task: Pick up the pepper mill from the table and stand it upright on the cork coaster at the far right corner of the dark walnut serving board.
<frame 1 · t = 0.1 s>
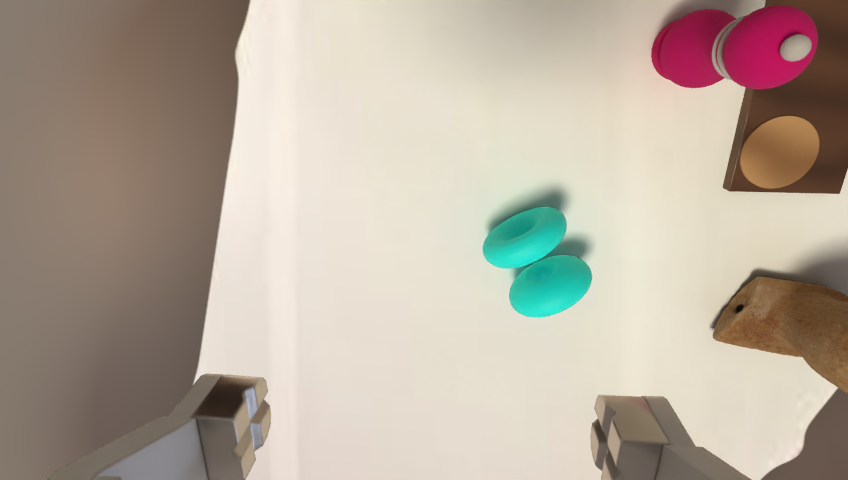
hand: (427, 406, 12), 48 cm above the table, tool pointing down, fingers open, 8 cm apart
pepper mill: (680, 49, 52), on the table
serving board: (803, 90, 53), on the table
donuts: (530, 245, 61), on the table
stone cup: (780, 304, 62), on the table
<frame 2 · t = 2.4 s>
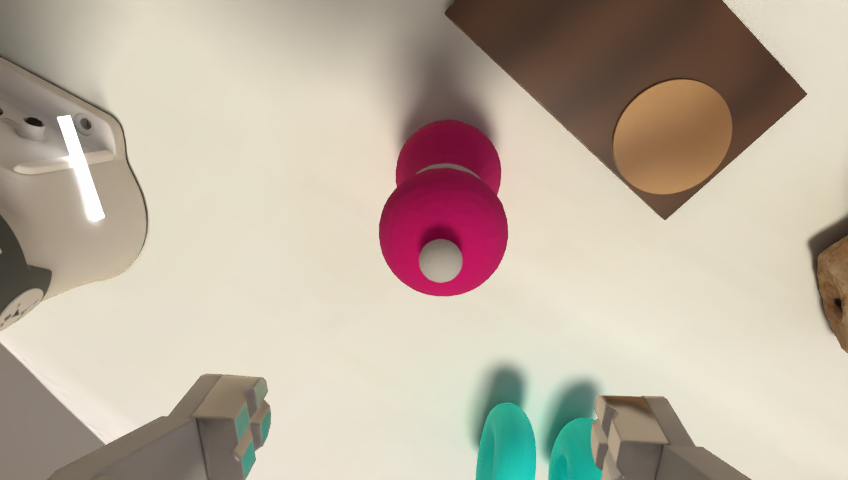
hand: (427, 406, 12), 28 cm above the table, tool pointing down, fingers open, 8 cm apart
pepper mill: (449, 160, 38), on the table
serving board: (620, 54, 34), on the table
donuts: (533, 427, 46), on the table
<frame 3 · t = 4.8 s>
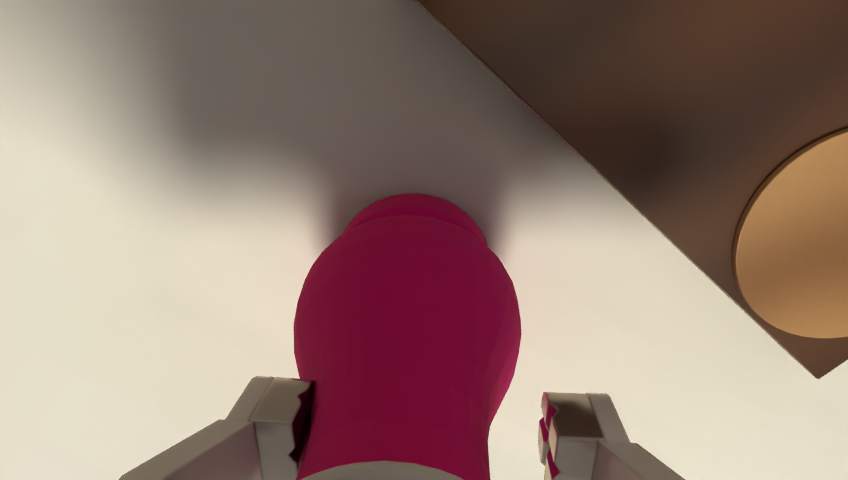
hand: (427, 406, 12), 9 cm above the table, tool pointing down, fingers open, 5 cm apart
pepper mill: (413, 263, 20), on the table, touching arm, gripper
serving board: (755, 67, 17), on the table
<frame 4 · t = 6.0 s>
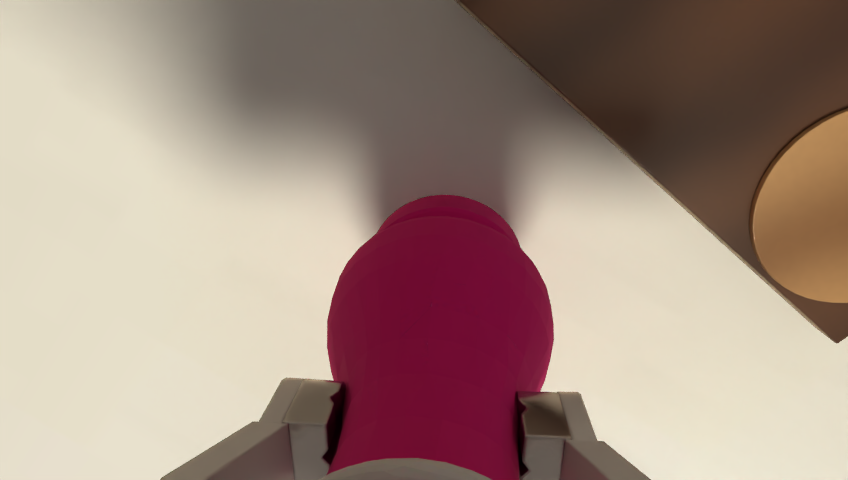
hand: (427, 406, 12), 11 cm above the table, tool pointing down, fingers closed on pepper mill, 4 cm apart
pepper mill: (445, 264, 20), point 3 cm above the table, touching gripper
serving board: (765, 56, 19), on the table
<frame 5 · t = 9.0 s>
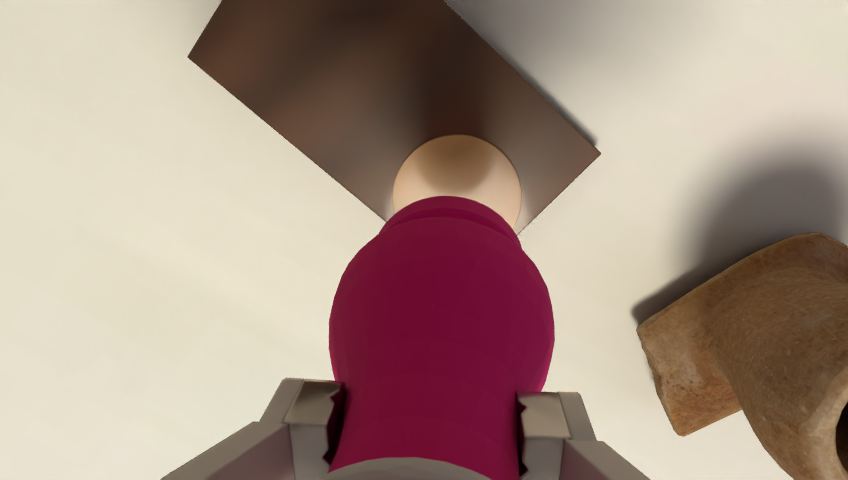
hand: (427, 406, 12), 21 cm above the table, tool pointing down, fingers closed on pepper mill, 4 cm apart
pepper mill: (447, 264, 20), point 12 cm above the table, touching gripper
serving board: (398, 103, 30), on the table
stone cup: (727, 309, 34), on the table
when the fingers open (10 cm above the table, at t = 12.2 s): pepper mill stays where it is, point 2 cm above the table.
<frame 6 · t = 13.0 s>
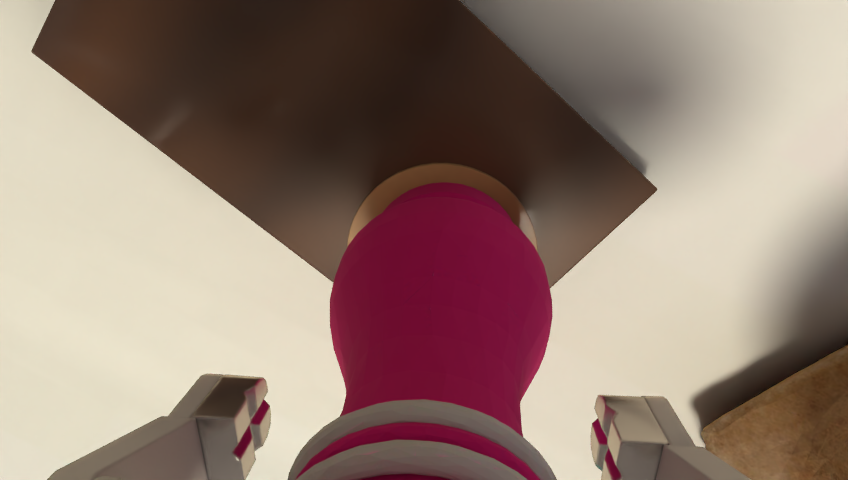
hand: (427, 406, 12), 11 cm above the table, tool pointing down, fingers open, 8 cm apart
pepper mill: (444, 252, 20), point 2 cm above the table
serving board: (353, 116, 20), on the table
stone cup: (827, 399, 24), on the table
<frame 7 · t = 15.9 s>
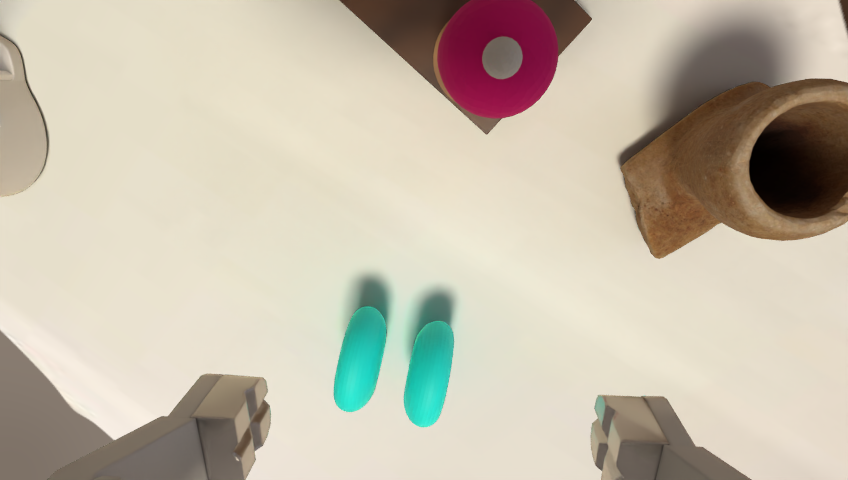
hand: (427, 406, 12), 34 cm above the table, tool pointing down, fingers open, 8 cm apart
pepper mill: (484, 56, 40), point 2 cm above the table, touching serving board
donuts: (401, 336, 52), on the table
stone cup: (692, 155, 43), on the table
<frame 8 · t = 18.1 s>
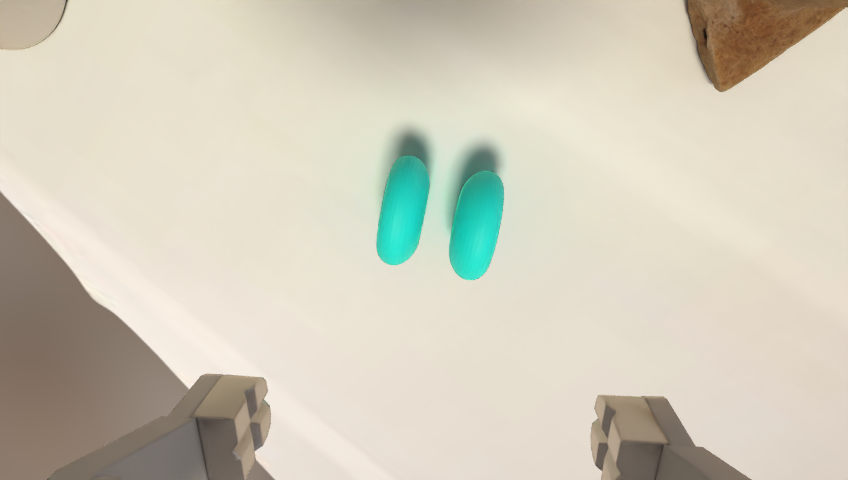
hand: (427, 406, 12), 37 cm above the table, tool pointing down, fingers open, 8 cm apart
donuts: (441, 201, 49), on the table
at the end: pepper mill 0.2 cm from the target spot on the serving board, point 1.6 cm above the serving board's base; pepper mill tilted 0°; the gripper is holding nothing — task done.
